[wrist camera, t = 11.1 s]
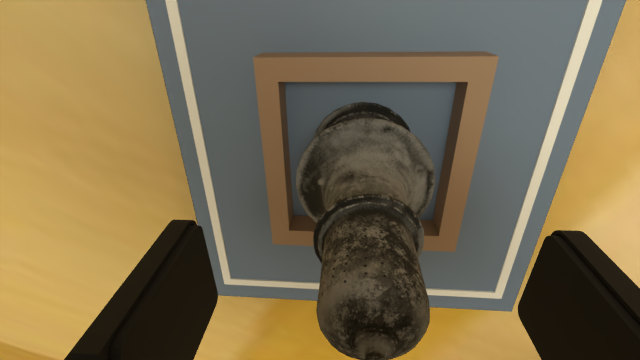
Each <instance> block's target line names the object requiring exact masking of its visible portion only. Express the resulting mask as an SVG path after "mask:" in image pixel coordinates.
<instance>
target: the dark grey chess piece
mask: <svg viewBox="0 0 640 360" xmlns="http://www.w3.org/2000/svg"><path fill="white" fill-rule="evenodd" d="M434 187H435V169H434V166H433V163H432V160H431V157H430V155H429V152H428V150H427V149H426V148H425V147H424V145H423V144H422V143H421V141H420V140H419V139H418V137H416V136H415V135H414V134H412V133H411V132H410V129H409V127H408V125H407V124H406V123H405V121H404V120H403V119H402V117H401V116H400V115H398V114H397V113H395V112H394V111H393V110H391V109H390V108H388V107H385V106H382V105H380V104H377V103H368V102H358V103H352V104H347V105H345V106H343V107H341V108H338V109H336V110H334V111H333V112H332V113H331V114H329V115H328V116H327V117H326V118H324V120H323V121H322V122H321V124H320V125H319V127H318V128H317V130H316V132H315V135H314V138H313V140H312V141H311V143H310V144H309V145H308V147H307V148H306V150H305V151H304V152H303V154H302V157H301V159H300V162H299V165H298V168H297V174H296V188H297V192H298V196H299V200H300V202H301V204H302V206H303V207H304V209H305V211H306V212H307V214H308V215H309V216H310V217H311V218H312V219H313V220H314V221H315V222H316V223H317V224H316V227H315V229H314V235H313V245H314V250H315V254H316V255H317V257H318V259H319V260H320V262H321V264H322V267H321V276H320V284H319V293H318V301H317V310H316V311H317V317H318V322H319V326H320V330H321V331H322V333H323V334H324V336H325V337H326V339H327V340H328V341H329V342H330V344H331V345H332V346H333V347H334V348H336V349H337V350H338V351H339V352H341V353H343V354H345V355H347V356H349V357H352V358H356V359H359V360H389V359H393V358H396V357H399V356H401V355H403V354H406V353H407V352H409V351H410V350H411V349H413V348H414V347H415V346H416V345H417V344H418V342H419V341H420V340H421V338H422V337H423V335H424V334H425V333H426V330H427V328H428V325H429V318H430V309H429V299H428V295H427V291H426V287H425V283H424V280H423V276H422V272H421V268H420V264H419V260H418V258H419V256H420V255H421V253H422V249H423V246H424V243H425V242H424V229H423V227H422V224H421V222H420V219H419V217H420V216H421V215H422V214H423V212H424V211H425V209H426V207H427V206H428V204H429V202H430V201H431V198H432V194H433V190H434Z"/></svg>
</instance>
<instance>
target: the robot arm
mask: <svg viewBox="0 0 640 360" xmlns="http://www.w3.org/2000/svg"><path fill="white" fill-rule="evenodd" d="M217 299H218V291H217V287H216V283H215V279H214V275H213V270H212V266H211V262H210V258H209V254H208V249H207V245H206V241H205V237H204V233H203V229H202V227H201V226H197V224H196V222H195V221H193V220H172V221H171V222H170V223H169V224H168V225H167V227H166V228H165V229H164V231H163V232H162V233H161V235H160V236H159V237H158V238H157V240H156V241H155V242H154V244H153V245H152V246H151V248H150V249H149V250H148V251H147V253H146V254H145V255H144V257H143V258H142V259H141V261H140V262H139V263H138V264H137V266H136V267H135V268H134V270H133V271H132V272H131V273H130V275H129V276H128V277H127V279H126V280H125V281H124V283H123V284H122V285H121V286H120V288H119V289H118V290H117V292H116V293H115V294H114V296H113V297H112V298H111V299H110V301H109V302H108V303H107V305H106V306H105V307H104V309H103V310H102V311H101V312H100V314H99V315H98V316H97V318H96V319H95V320H94V322H93V323H92V324H91V325H90V327H89V328H88V329H87V331H86V332H85V333H84V335H83V336H82V337H81V338H80V340H79V341H78V342H77V344H76V345H75V346H74V348H73V349H72V350H71V351H70V353H69V354H68V355H67V357H66V358H65V359H64V360H193V359H194V357H195V354H196V352H197V350H198V347H199V345H200V342H201V340H202V338H203V335H204V333H205V330H206V328H207V326H208V323H209V321H210V318H211V316H212V314H213V311H214V309H215V307H216V304H217ZM518 314H519V317H520V320H521V322H522V324H523V325H524V327H525V329H526V331H527V333H528V335H529V337H530V339H531V340H532V342H533V344H534V346H535V348H536V350H537V352H538V354H539V356H540V357H541V359H542V360H640V288H639V287H638V286H637V285H636V284H635V283H634V282H633V281H632V280H631V279H630V278H629V277H628V276H627V275H626V274H625V273H624V272H623V271H622V270H621V269H620V268H619V267H618V266H617V265H616V264H615V263H614V262H613V261H612V260H611V259H610V258H609V257H608V256H607V255H606V254H605V253H604V252H603V251H602V250H601V249H600V248H599V247H598V246H597V245H596V244H595V243H594V242H593V241H592V240H591V239H590V238H589V237H588V236H587V235H586V234H585V233H584V232H581V231H562V230H557V231H554V232H553V233H552V234H551V236H547V237H546V238H545V240H544V242H543V244H542V247H541V249H540V252H539V254H538V257H537V259H536V262H535V264H534V267H533V269H532V272H531V274H530V277H529V279H528V282H527V284H526V287H525V290H524V292H523V295H522V297H521V300H520V302H519V305H518Z"/></svg>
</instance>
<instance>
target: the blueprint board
mask: <svg viewBox="0 0 640 360" xmlns="http://www.w3.org/2000/svg"><path fill="white" fill-rule="evenodd" d="M625 2H626V0H146V4H147V8H148V12H149V17H150V21H151V25H152V29H153V34H154V38H155V42H156V47H157V51H158V55H159V59H160V64H161V68H162V72H163V77H164V81H165V85H166V90H167V94H168V98H169V102H170V107H171V111H172V115H173V120H174V124H175V128H176V133H177V137H178V141H179V145H180V150H181V154H182V158H183V163H184V167H185V171H186V176H187V180H188V184H189V188H190V193H191V197H192V201H193V206H194V210H195V214H196V219H197V223H198V226H201V227H202V229H203V233H204V237H205V241H206V245H207V249H208V254H209V258H210V262H211V266H212V270H213V275H214V279H215V283H216V287H217V291H218V295H222V296H240V297H258V298H277V299H295V300H313V301H318V293H319V284H320V276H321V267H322V264H321V262H320V260H319V259H318V257H317V255H316V254H315V250H314V245H313V235H314V229H315V227H316V224H317V223H316V222H315V221H314V220H313V219H312V218H311V217H310V216H309V215H308V214H307V212H306V211H305V209H304V207H303V206H302V204H301V202H300V200H299V196H298V192H297V188H296V174H297V168H298V165H299V162H300V159H301V157H302V154H303V152H304V151H305V150H306V148H307V147H308V145H309V144H310V143H311V141H312V140H313V138H314V135H315V132H316V130H317V128H318V127H319V125H320V124H321V122H322V121H323V120H324V118H326V117H327V116H328V115H329V114H331V113H332V112H333V111H334V110H336V109H338V108H341V107H343V106H345V105H347V104H352V103H358V102H368V103H377V104H380V105H382V106H385V107H388V108H390V109H391V110H393V111H394V112H395V113H397V114H398V115H400V116H401V117H402V119H403V120H404V121H405V123H406V124H407V125H408V127H409V129H410V132H411V133H412V134H414V135H415V136H416V137H418V139H419V140H420V141H421V143H422V144H423V145H424V147H425V148H426V149H427V150H428V152H429V155H430V157H431V160H432V163H433V166H434V169H435V187H434V190H433V194H432V198H431V201H430V202H429V204H428V206H427V207H426V209H425V211H424V212H423V214H422V215H421V216H420V217H419V219H420V222H421V224H422V227H423V229H424V242H425V243H424V246H423V249H422V253H421V255H420V256H419V258H418V260H419V264H420V268H421V272H422V276H423V280H424V283H425V287H426V291H427V295H428V299H429V307H439V308H457V309H475V310H493V311H512V309H513V306H514V303H515V301H516V298H517V295H518V292H519V290H520V287H521V284H522V282H523V279H524V276H525V273H526V271H527V268H528V265H529V263H530V260H531V257H532V254H533V252H534V249H535V246H536V244H537V241H538V238H539V235H540V233H541V230H542V227H543V225H544V222H545V219H546V216H547V214H548V211H549V208H550V206H551V203H552V200H553V197H554V195H555V192H556V189H557V187H558V184H559V181H560V178H561V176H562V173H563V170H564V168H565V165H566V162H567V159H568V157H569V154H570V151H571V149H572V146H573V143H574V140H575V138H576V135H577V132H578V130H579V127H580V124H581V121H582V119H583V116H584V113H585V111H586V108H587V105H588V102H589V100H590V97H591V94H592V92H593V89H594V86H595V83H596V81H597V78H598V75H599V73H600V70H601V67H602V64H603V62H604V59H605V56H606V54H607V51H608V48H609V45H610V43H611V40H612V37H613V35H614V32H615V29H616V26H617V24H618V21H619V18H620V16H621V13H622V10H623V7H624V5H625Z"/></svg>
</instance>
